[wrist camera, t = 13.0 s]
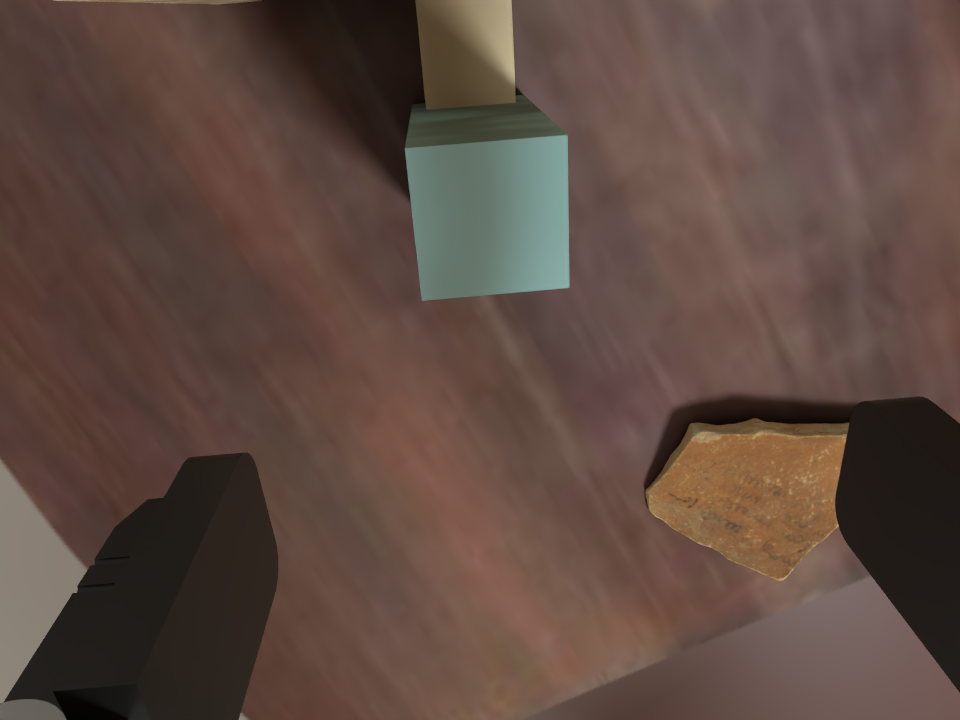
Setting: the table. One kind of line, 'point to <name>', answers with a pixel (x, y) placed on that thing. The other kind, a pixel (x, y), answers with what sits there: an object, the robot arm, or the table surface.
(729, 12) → the table surface
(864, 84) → the table surface
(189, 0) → the wooden arch block
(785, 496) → the pottery shard
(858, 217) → the table surface
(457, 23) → the two-colour block
